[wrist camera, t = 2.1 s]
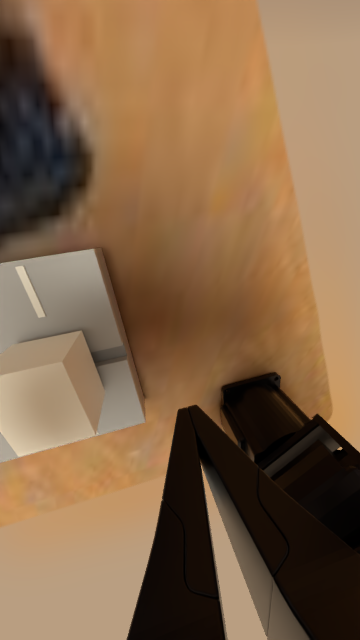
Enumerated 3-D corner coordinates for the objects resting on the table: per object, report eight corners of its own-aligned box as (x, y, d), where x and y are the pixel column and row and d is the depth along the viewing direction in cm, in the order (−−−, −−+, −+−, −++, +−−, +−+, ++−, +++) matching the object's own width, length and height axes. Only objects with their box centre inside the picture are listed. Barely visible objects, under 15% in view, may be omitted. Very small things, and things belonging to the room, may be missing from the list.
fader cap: (84, 325, 13) (61, 361, 9) (106, 384, 15) (95, 435, 11) (19, 338, 12) (-36, 383, 8) (51, 398, 14) (18, 456, 10)
